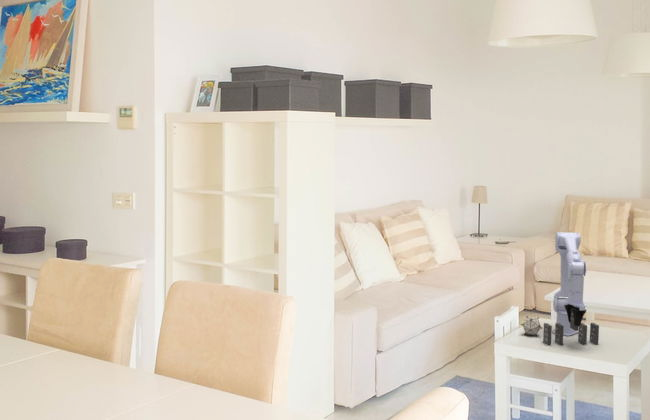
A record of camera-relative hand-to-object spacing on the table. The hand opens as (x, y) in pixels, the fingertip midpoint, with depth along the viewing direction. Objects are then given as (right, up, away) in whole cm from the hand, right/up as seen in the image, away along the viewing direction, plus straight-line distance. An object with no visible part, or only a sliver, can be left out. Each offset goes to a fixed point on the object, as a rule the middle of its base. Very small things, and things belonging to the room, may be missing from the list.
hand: (574, 324), depth 308 cm
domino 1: (-10, -9, +5) cm, 14 cm away
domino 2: (-5, -9, +5) cm, 11 cm away
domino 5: (+10, -9, +6) cm, 15 cm away
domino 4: (+5, -9, +6) cm, 12 cm away
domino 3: (0, -2, 0) cm, 2 cm away
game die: (-12, -8, +18) cm, 23 cm away
